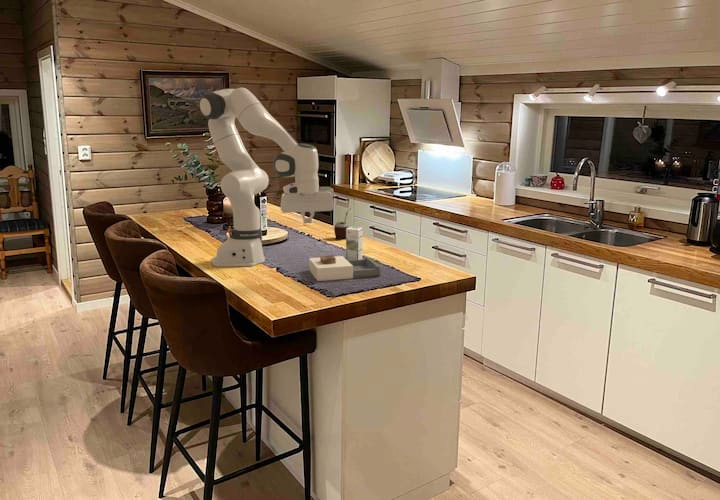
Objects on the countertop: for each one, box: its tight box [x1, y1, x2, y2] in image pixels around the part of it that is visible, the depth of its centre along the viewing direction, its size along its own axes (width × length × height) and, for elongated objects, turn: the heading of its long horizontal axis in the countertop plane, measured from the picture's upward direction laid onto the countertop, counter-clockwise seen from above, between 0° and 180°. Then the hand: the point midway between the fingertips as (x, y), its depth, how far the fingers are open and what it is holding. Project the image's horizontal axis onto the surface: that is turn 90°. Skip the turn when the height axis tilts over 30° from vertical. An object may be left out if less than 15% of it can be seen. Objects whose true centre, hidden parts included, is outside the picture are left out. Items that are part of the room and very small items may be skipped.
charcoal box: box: [347, 256, 381, 279], centre depth 242 cm, size 11×16×4 cm, turn 17°
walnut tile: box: [320, 254, 336, 264], centre depth 237 cm, size 5×5×2 cm
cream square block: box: [308, 255, 354, 282], centre depth 239 cm, size 14×16×5 cm
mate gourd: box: [333, 208, 351, 241], centre depth 300 cm, size 8×8×15 cm
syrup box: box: [345, 226, 364, 260], centre depth 258 cm, size 6×6×14 cm
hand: (307, 223), depth 232 cm, fingers closed
